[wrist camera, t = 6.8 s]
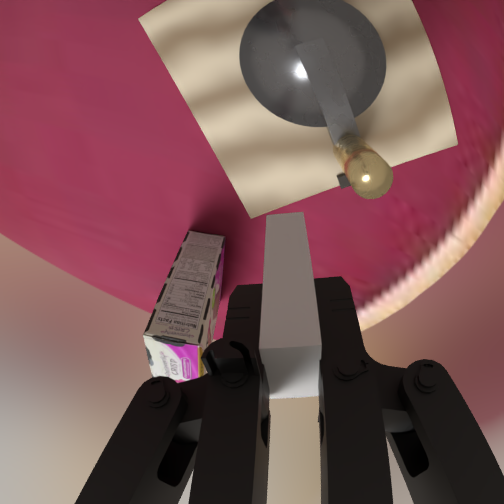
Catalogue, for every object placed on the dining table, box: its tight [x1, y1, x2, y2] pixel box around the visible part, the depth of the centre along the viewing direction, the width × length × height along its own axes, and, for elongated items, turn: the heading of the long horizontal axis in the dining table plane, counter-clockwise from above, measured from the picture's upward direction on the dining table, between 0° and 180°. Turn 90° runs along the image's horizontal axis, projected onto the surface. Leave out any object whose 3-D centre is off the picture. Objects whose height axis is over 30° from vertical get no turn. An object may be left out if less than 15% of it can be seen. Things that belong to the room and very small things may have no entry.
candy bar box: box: [143, 231, 226, 383], centre depth 32 cm, size 11×5×16 cm, turn 173°
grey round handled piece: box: [239, 0, 393, 199], centre depth 19 cm, size 18×12×9 cm, turn 24°
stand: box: [139, 0, 458, 219], centre depth 23 cm, size 24×24×3 cm
